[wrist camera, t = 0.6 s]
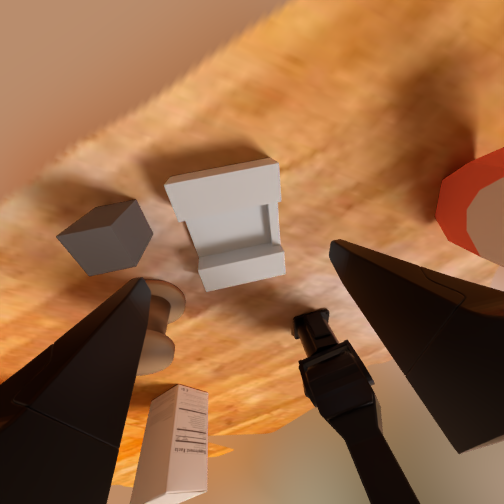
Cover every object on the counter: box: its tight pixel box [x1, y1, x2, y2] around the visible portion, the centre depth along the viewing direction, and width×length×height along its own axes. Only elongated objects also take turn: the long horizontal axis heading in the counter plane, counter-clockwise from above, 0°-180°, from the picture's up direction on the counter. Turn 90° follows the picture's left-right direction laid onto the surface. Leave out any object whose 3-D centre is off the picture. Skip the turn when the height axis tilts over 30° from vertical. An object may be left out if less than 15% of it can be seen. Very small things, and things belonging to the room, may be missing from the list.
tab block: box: [56, 200, 153, 276], centre depth 18 cm, size 4×4×6 cm
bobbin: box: [136, 280, 185, 376], centre depth 24 cm, size 8×8×8 cm
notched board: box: [164, 158, 286, 292], centre depth 22 cm, size 13×10×3 cm
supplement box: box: [130, 384, 208, 504], centre depth 38 cm, size 9×9×15 cm
